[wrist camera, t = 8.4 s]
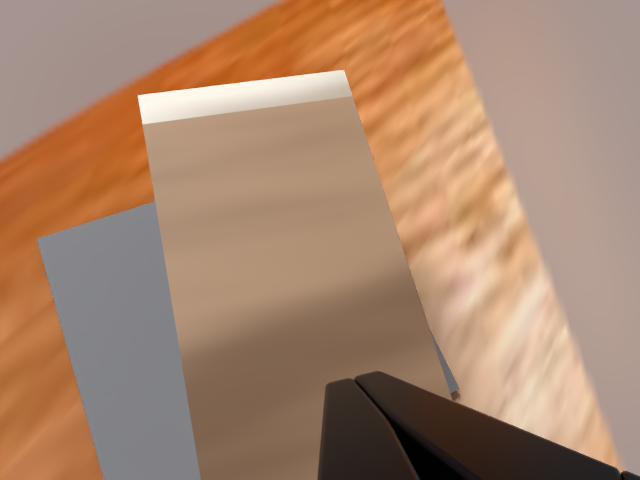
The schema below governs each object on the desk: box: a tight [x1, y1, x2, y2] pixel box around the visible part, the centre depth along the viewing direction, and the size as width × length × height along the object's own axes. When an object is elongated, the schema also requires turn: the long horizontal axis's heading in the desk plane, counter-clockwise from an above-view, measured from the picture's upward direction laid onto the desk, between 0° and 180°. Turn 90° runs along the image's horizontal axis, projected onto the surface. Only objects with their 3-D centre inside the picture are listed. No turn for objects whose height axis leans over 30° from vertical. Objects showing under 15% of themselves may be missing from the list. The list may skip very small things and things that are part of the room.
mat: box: [37, 202, 459, 480], centre depth 15 cm, size 9×10×1 cm
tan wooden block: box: [138, 70, 453, 480], centre depth 13 cm, size 5×5×10 cm
